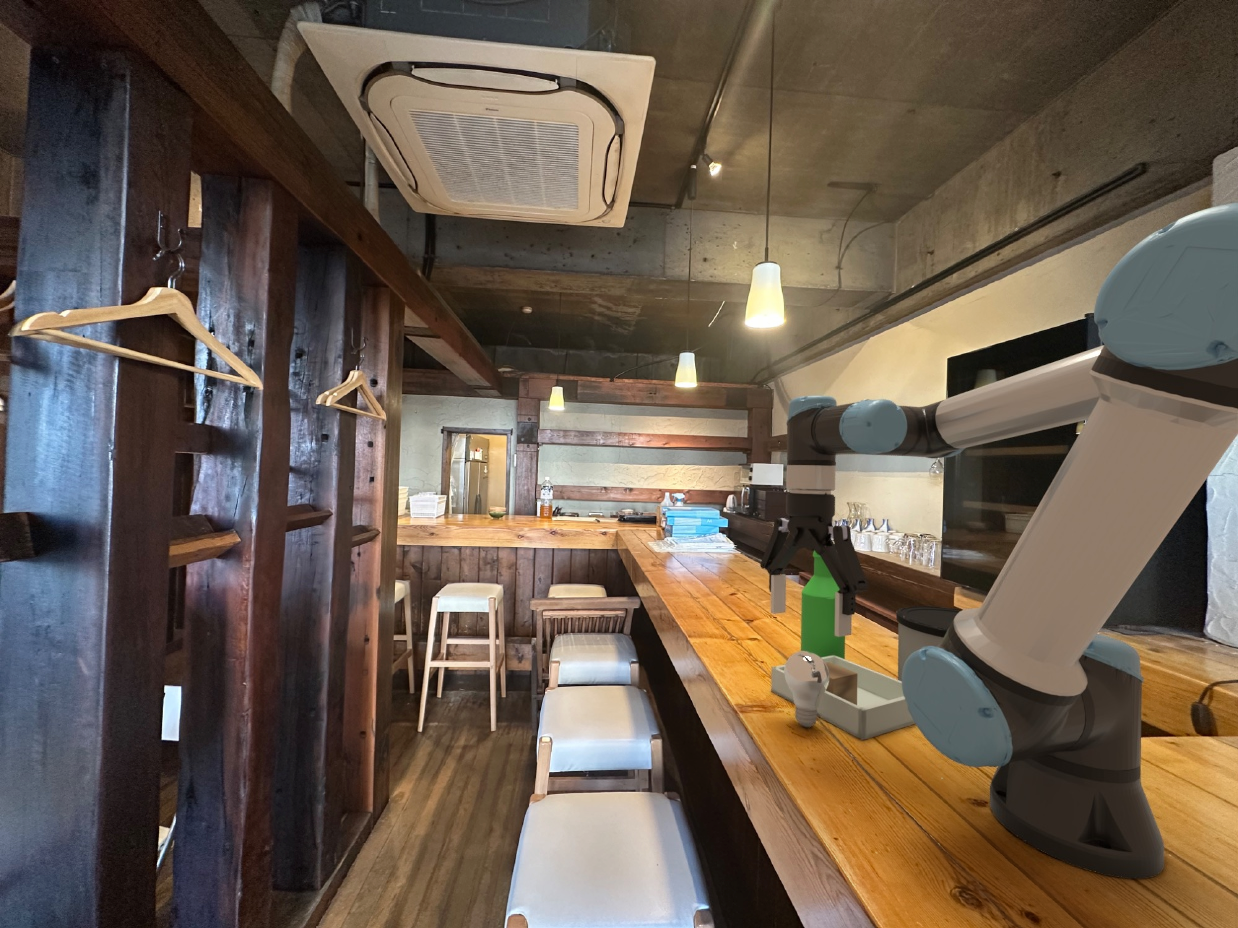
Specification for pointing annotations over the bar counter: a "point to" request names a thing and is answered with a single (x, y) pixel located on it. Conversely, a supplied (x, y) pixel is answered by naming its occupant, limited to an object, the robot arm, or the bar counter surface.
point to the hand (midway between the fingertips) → (808, 623)
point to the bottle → (820, 614)
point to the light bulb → (806, 684)
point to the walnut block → (842, 683)
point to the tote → (875, 701)
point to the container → (921, 629)
